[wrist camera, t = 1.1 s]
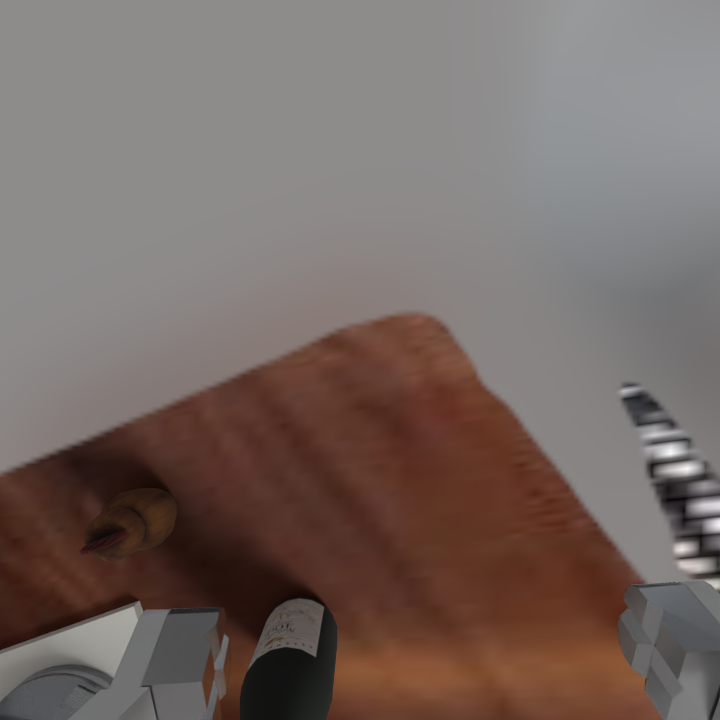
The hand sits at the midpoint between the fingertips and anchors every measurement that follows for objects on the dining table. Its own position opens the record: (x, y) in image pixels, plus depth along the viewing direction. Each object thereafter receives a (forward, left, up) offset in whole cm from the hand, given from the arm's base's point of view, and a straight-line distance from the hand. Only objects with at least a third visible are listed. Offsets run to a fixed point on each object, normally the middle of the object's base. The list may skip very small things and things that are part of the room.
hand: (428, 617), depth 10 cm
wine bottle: (-19, +15, -47) cm, 53 cm away
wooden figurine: (-1, +26, -47) cm, 54 cm away
